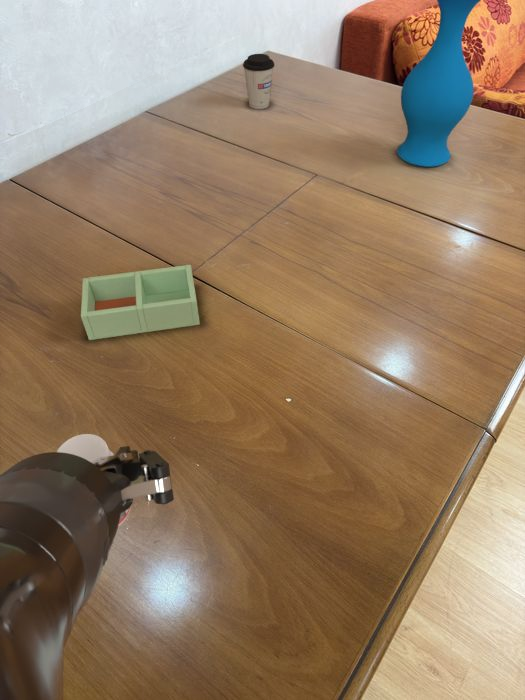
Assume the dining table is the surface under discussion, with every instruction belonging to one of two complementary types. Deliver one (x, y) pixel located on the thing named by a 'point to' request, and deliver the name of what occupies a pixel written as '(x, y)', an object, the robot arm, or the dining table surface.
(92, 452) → the pill bottle
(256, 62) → the coffee cup
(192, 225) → the dining table surface
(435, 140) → the vase
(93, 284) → the holder
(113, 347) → the dining table surface
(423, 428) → the dining table surface
